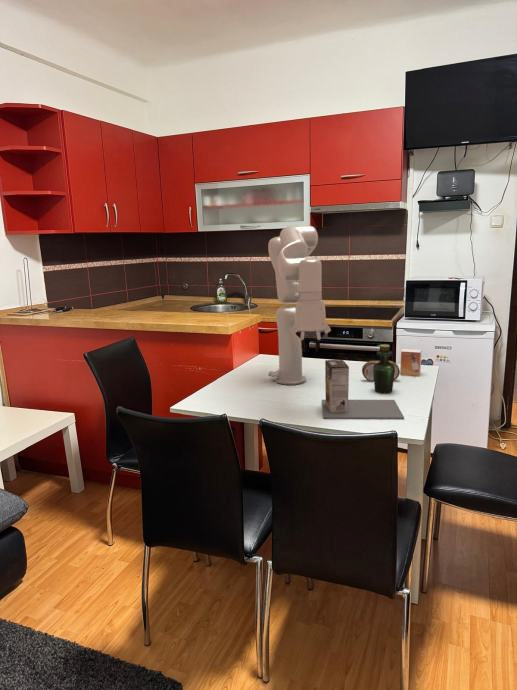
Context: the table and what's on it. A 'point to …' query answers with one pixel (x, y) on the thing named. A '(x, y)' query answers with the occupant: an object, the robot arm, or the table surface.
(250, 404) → the table surface
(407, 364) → the small box
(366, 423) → the table surface
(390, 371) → the potion bottle
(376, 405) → the mat
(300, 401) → the table surface
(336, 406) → the coffee box
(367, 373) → the tin
